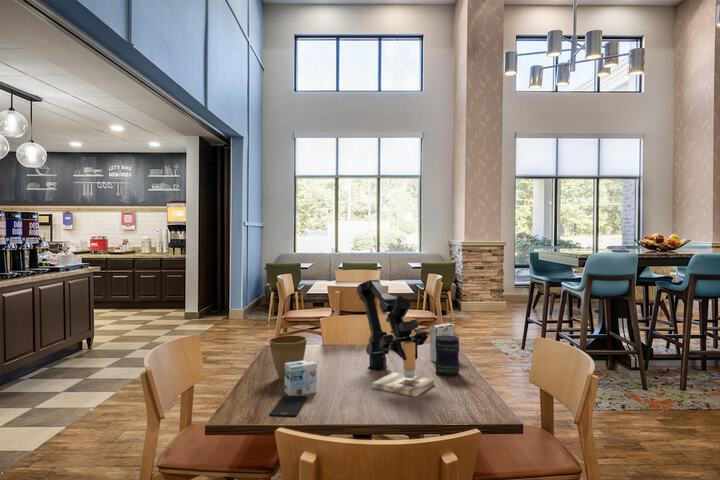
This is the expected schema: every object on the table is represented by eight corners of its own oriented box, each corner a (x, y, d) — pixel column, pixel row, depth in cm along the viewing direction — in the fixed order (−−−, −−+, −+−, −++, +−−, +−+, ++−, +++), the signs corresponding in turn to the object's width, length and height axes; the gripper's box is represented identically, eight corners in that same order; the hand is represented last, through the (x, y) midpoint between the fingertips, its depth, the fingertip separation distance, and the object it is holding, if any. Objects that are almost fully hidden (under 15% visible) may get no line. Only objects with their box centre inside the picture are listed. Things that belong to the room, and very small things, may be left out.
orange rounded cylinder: (404, 378, 169) (404, 344, 169) (403, 374, 174) (403, 342, 174) (415, 378, 169) (415, 344, 169) (414, 374, 174) (414, 342, 174)
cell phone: (268, 417, 145) (268, 414, 145) (283, 397, 163) (283, 395, 163) (296, 418, 144) (296, 415, 144) (307, 398, 162) (307, 395, 162)
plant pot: (285, 371, 194) (285, 333, 194) (314, 376, 187) (313, 337, 187) (261, 380, 181) (261, 340, 181) (291, 386, 174) (290, 344, 174)
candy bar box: (448, 357, 216) (447, 322, 216) (455, 359, 212) (455, 324, 212) (429, 360, 211) (429, 325, 211) (436, 363, 206) (436, 326, 206)
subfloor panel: (372, 387, 172) (372, 382, 172) (392, 377, 186) (392, 371, 186) (415, 396, 162) (415, 390, 162) (434, 384, 176) (434, 379, 176)
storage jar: (430, 371, 193) (430, 336, 193) (450, 369, 196) (450, 334, 196) (443, 378, 183) (443, 341, 183) (464, 375, 187) (464, 339, 187)
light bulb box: (289, 397, 162) (289, 367, 162) (283, 391, 168) (283, 362, 168) (317, 392, 167) (317, 363, 167) (311, 387, 173) (310, 359, 173)
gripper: (382, 314, 172) (395, 350, 161) (425, 310, 179) (440, 345, 168) (373, 331, 179) (386, 366, 169) (415, 327, 186) (429, 361, 176)
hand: (411, 359), depth 170 cm, fingers closed on orange rounded cylinder, 4 cm apart
